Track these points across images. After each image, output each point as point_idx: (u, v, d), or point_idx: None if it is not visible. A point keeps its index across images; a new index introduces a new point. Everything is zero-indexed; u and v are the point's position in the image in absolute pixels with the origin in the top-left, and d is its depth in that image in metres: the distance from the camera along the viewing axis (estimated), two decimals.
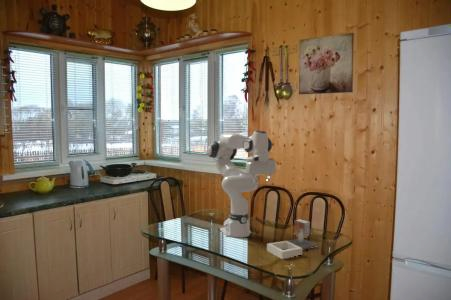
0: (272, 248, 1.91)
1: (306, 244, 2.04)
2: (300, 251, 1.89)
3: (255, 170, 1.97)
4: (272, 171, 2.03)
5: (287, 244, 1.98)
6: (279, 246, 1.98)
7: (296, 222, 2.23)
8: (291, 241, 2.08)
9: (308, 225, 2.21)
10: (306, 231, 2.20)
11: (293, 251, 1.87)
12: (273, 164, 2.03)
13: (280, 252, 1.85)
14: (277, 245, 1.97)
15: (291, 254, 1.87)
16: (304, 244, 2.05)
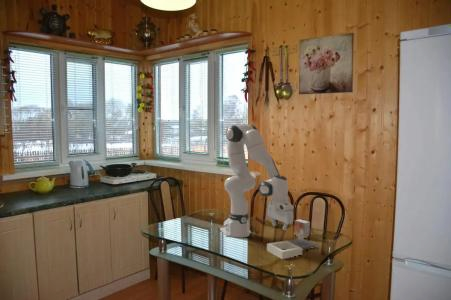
0: (272, 248, 1.91)
1: (306, 244, 2.04)
2: (300, 251, 1.89)
3: None
4: None
5: (287, 244, 1.98)
6: (279, 246, 1.98)
7: (296, 222, 2.23)
8: (291, 241, 2.08)
9: (308, 225, 2.21)
10: (306, 231, 2.20)
11: (293, 251, 1.87)
12: None
13: (280, 252, 1.85)
14: (277, 245, 1.97)
15: (291, 254, 1.87)
16: (304, 244, 2.05)
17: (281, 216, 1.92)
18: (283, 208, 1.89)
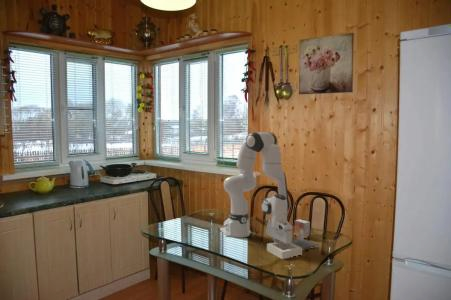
0: (272, 248, 1.91)
1: (306, 244, 2.04)
2: (300, 251, 1.90)
3: None
4: None
5: (287, 244, 1.98)
6: None
7: (296, 222, 2.23)
8: None
9: (308, 225, 2.21)
10: (306, 231, 2.20)
11: (293, 251, 1.87)
12: None
13: (280, 252, 1.85)
14: (277, 245, 1.97)
15: (291, 254, 1.87)
16: (304, 244, 2.05)
17: (280, 236, 1.93)
18: (282, 228, 1.89)
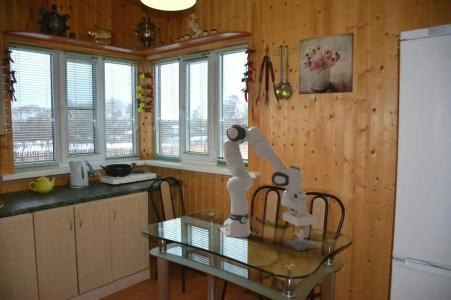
0: (288, 216, 2.01)
1: (306, 244, 2.04)
2: (314, 220, 1.99)
3: None
4: None
5: (302, 213, 2.08)
6: None
7: None
8: (291, 241, 2.08)
9: (308, 225, 2.21)
10: (306, 231, 2.20)
11: (308, 219, 1.97)
12: None
13: (296, 220, 1.95)
14: (292, 214, 2.07)
15: (306, 222, 1.96)
16: (304, 244, 2.05)
17: (295, 204, 2.03)
18: (297, 197, 1.99)
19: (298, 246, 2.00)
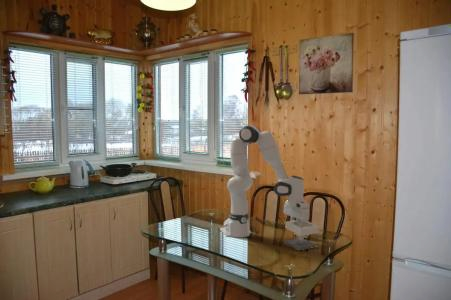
0: (290, 226, 2.04)
1: (306, 244, 2.04)
2: (317, 229, 2.02)
3: None
4: None
5: (304, 222, 2.11)
6: None
7: None
8: (291, 241, 2.08)
9: None
10: None
11: (310, 229, 2.00)
12: None
13: (298, 229, 1.97)
14: None
15: (309, 231, 1.99)
16: (304, 244, 2.05)
17: (297, 214, 2.06)
18: (300, 206, 2.02)
19: (298, 246, 2.00)
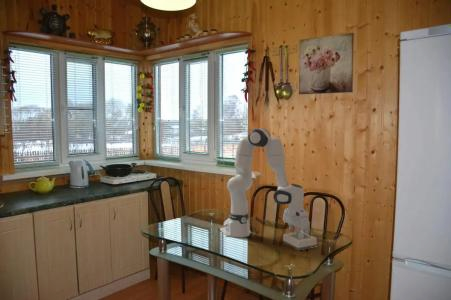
0: (288, 238, 2.05)
1: None
2: (315, 241, 2.04)
3: None
4: None
5: None
6: (294, 236, 2.12)
7: None
8: None
9: (308, 225, 2.21)
10: (306, 231, 2.20)
11: (308, 240, 2.01)
12: None
13: (296, 241, 1.99)
14: (293, 235, 2.11)
15: (307, 243, 2.01)
16: None
17: (297, 222, 2.06)
18: (299, 215, 2.02)
19: None
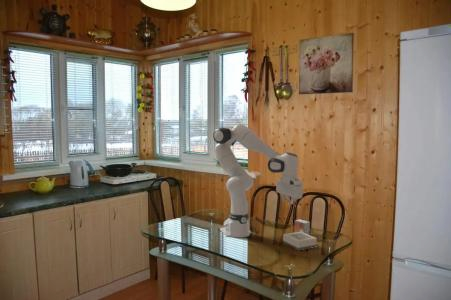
0: (288, 238, 2.05)
1: None
2: (315, 241, 2.04)
3: None
4: None
5: None
6: (294, 236, 2.12)
7: (296, 222, 2.23)
8: None
9: (308, 225, 2.21)
10: (306, 231, 2.20)
11: (308, 240, 2.01)
12: None
13: (296, 241, 1.99)
14: (293, 235, 2.11)
15: (307, 243, 2.01)
16: None
17: (290, 191, 2.01)
18: (293, 183, 1.97)
19: None
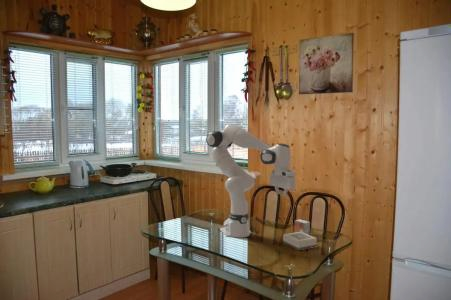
0: (288, 238, 2.05)
1: None
2: (315, 241, 2.04)
3: None
4: None
5: None
6: (294, 236, 2.12)
7: (296, 222, 2.23)
8: None
9: (308, 225, 2.21)
10: (306, 231, 2.20)
11: (308, 240, 2.01)
12: None
13: (296, 241, 1.99)
14: (293, 235, 2.11)
15: (307, 243, 2.01)
16: None
17: (283, 183, 1.96)
18: (285, 174, 1.92)
19: None
